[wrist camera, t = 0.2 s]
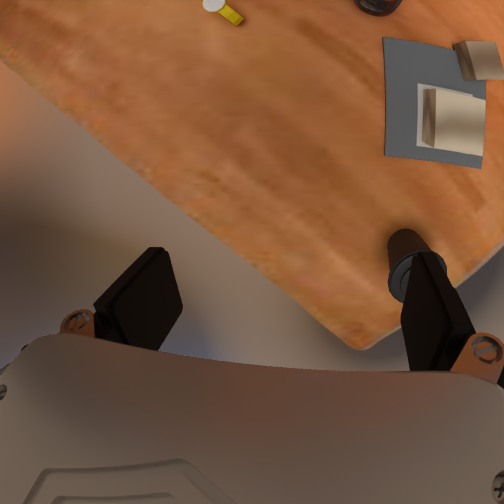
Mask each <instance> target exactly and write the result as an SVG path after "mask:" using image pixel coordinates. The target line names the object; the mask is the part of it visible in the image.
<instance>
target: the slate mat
mask: <svg viewBox="0 0 504 504" xmlns="http://www.w3.org/2000/svg"><path fill="white" fill-rule="evenodd" d="M382 39H383V52H384V70H385V149H384V155H385V156H391V157H401V158H410V159H419V160H427V161H435V162H442V163H449V164H455V165H461V166H467V167H473V168H479V169H481V166H482V157H483V156H479V155H473V154H468V153H463V152H457V151H451V150H445V149H438V148H433V147H432V146H430V145H428V144H426V143H424V142H422V122H423V89H440V90H445V91H449V92H454V93H458V94H463V95H467V96H471V97H475V98H479V99H482V100H486V82H485V80H463V77H462V73H461V69H460V65H459V62H458V59H457V55H456V52H455V50H452V49H448V48H443V47H439V46H434V45H430V44H425V43H420V42H414V41H408V40H402V39H395V38H388V37H383V38H382ZM485 113H486V109H485ZM484 134H485V132H484ZM483 147H484V146H483Z"/></svg>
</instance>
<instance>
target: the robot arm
mask: <svg viewBox="0 0 504 504" xmlns="http://www.w3.org/2000/svg"><path fill="white" fill-rule="evenodd" d="M93 305H94V307H95V309H96V312H95V313H94V314H93V313H92V312H91V311H90V310H87V309H80V310H77V311H74V312H72V313H71V314H69V315H67V316H66V317H65V318H64V320H63V321H62V323H61V326H60V333H57V334H49V335H45V336H41V337H38V338H36V339H35V340H33V341H32V342H31V343H30V344H27V345H25V346H24V347H23V348H22V350H21V352H20V353H19V354H18V355H17V357H15V358H14V360H13V361H12V362H11V363H9V364H8V365H6V366H4V367H3V368H1V369H0V504H504V344H503V343H502V342H501V341H500V339H498V338H497V337H495V336H494V335H492V334H489V333H483V332H481V333H476V332H475V330H474V327H473V325H472V323H471V320H470V318H469V316H468V314H467V312H466V309H465V307H464V305H463V303H462V301H461V299H460V297H459V295H458V293H457V291H456V289H455V288H454V287H452V285H451V283H450V281H449V279H448V277H447V275H446V273H445V271H444V269H443V267H442V266H441V264H440V262H439V260H438V258H437V257H436V255H435V253H434V252H431V251H419V252H418V254H417V255H414V256H413V258H412V263H411V269H410V274H409V280H408V285H407V290H406V294H405V299H404V304H403V308H402V312H401V327H402V331H403V336H404V340H405V346H406V351H407V357H408V362H409V368H410V371H336V370H312V369H296V368H283V367H272V366H261V365H251V364H242V363H234V362H225V361H217V360H211V359H204V358H197V357H190V356H184V355H178V354H172V353H167V352H161V351H158V350H159V348H160V346H161V345H162V343H163V342H164V340H165V338H166V336H167V335H168V334H169V332H170V330H171V329H172V327H173V325H174V324H175V322H176V321H177V319H178V317H179V316H180V314H181V312H182V309H183V305H182V301H181V297H180V294H179V290H178V286H177V283H176V279H175V276H174V272H173V268H172V264H171V260H170V257H169V253H168V252H167V251H165V249H164V248H162V247H149V248H148V249H147V250H146V251H145V252H144V253H143V254H142V255H141V256H140V257H139V258H138V259H137V260H136V261H135V262H134V263H133V264H132V265H131V266H130V267H129V268H128V269H127V270H126V271H125V272H124V273H123V274H122V275H121V276H120V277H119V278H118V279H117V280H116V281H115V282H114V283H113V284H112V285H111V286H110V287H109V288H108V289H107V290H106V291H105V292H104V293H103V294H102V295H101V296H100V297H99V298H98V300H97V301H96V302H95V303H94V304H93Z"/></svg>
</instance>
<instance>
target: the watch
mask: <svg viewBox="0 0 504 504" xmlns="http://www.w3.org/2000/svg"><path fill="white" fill-rule="evenodd" d="M202 1H203V7H204V9H205V10H206V11H208V12H210V13H220V14H221V15H222V16H224V17H225V18H226V19H228V20H229V21H230V22H232V23H233V24H234V25H236V26H237V25H238V24H239V23H240V22H241V21H242V20H244V18H243V17H242V16H240V15H239V14H238V13H237V12H235V11H234V10H233V9H232V8H230V7H229V6H228V5H226V4H227V0H202Z"/></svg>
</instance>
